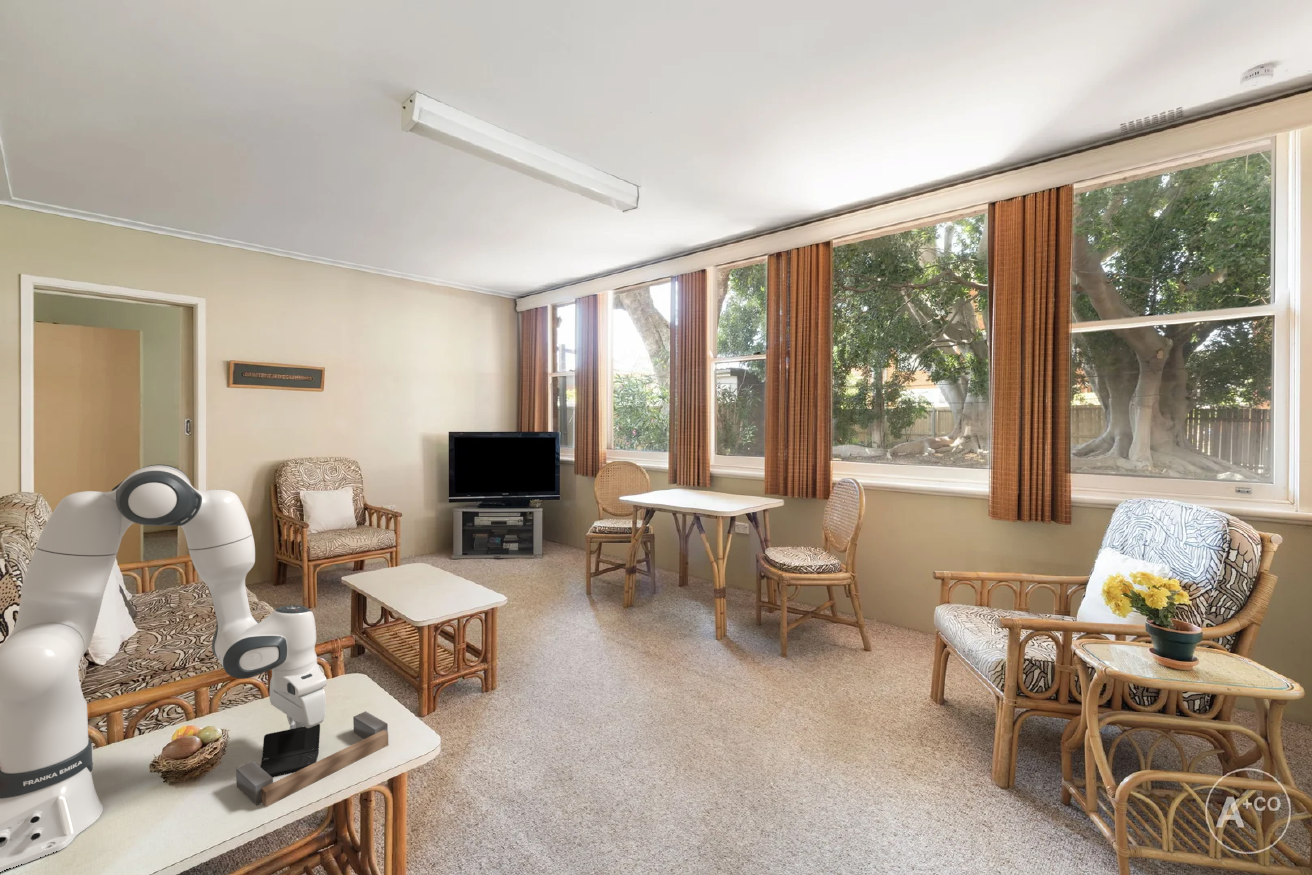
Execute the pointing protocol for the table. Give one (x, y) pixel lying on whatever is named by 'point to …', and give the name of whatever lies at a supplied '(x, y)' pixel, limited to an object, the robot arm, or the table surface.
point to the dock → (265, 791)
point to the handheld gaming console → (290, 750)
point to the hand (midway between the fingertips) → (296, 732)
